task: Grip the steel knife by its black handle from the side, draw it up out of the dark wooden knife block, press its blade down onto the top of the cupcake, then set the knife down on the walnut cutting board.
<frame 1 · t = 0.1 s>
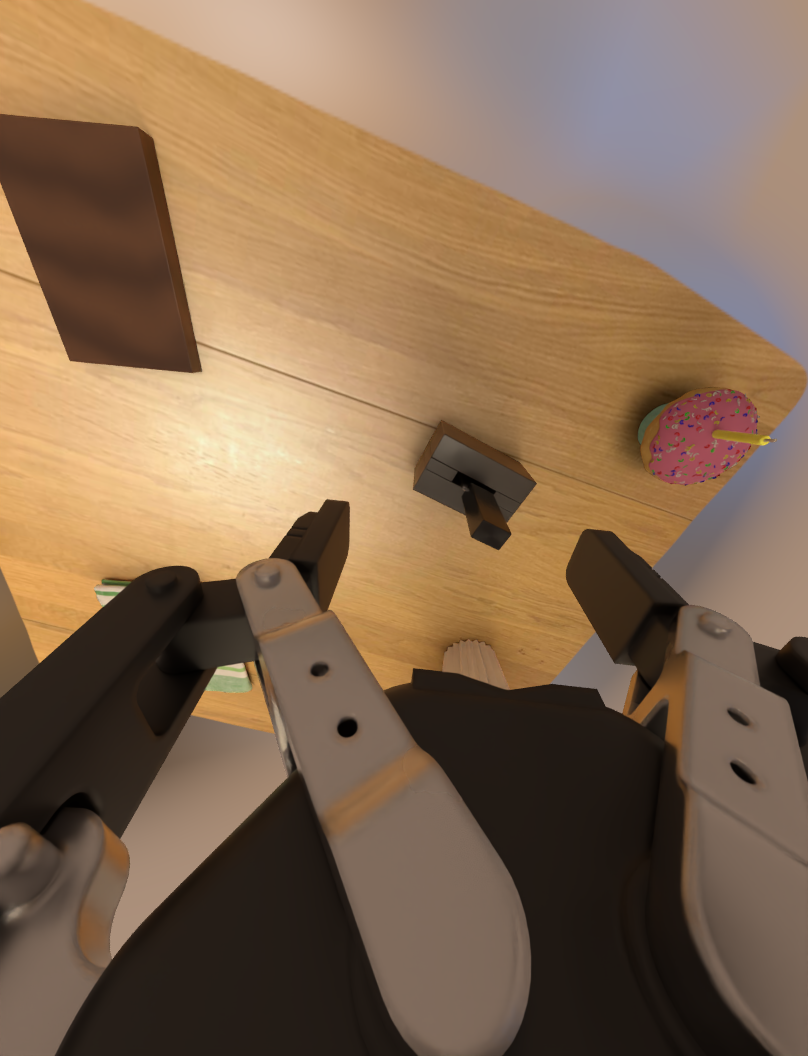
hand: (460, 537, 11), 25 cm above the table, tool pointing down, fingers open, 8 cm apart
knife block: (466, 465, 36), on the table
dish towel: (186, 634, 53), on the table
knife: (476, 493, 29), in the knife block
vase: (469, 655, 51), on the table
cupcake: (663, 426, 33), on the table
cutting board: (113, 265, 28), on the table
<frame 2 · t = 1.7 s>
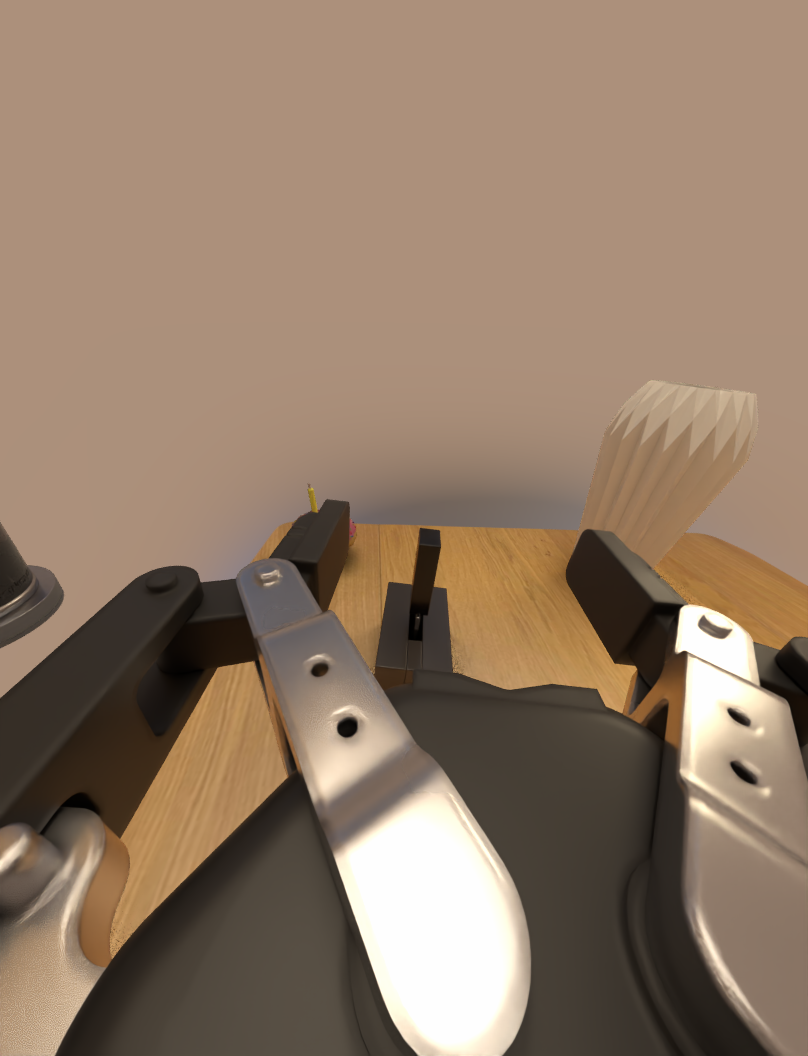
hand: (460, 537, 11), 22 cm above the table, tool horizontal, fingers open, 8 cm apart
knife block: (409, 664, 32), on the table
knife: (418, 609, 28), in the knife block
vase: (596, 583, 47), on the table
cupcake: (324, 559, 45), on the table
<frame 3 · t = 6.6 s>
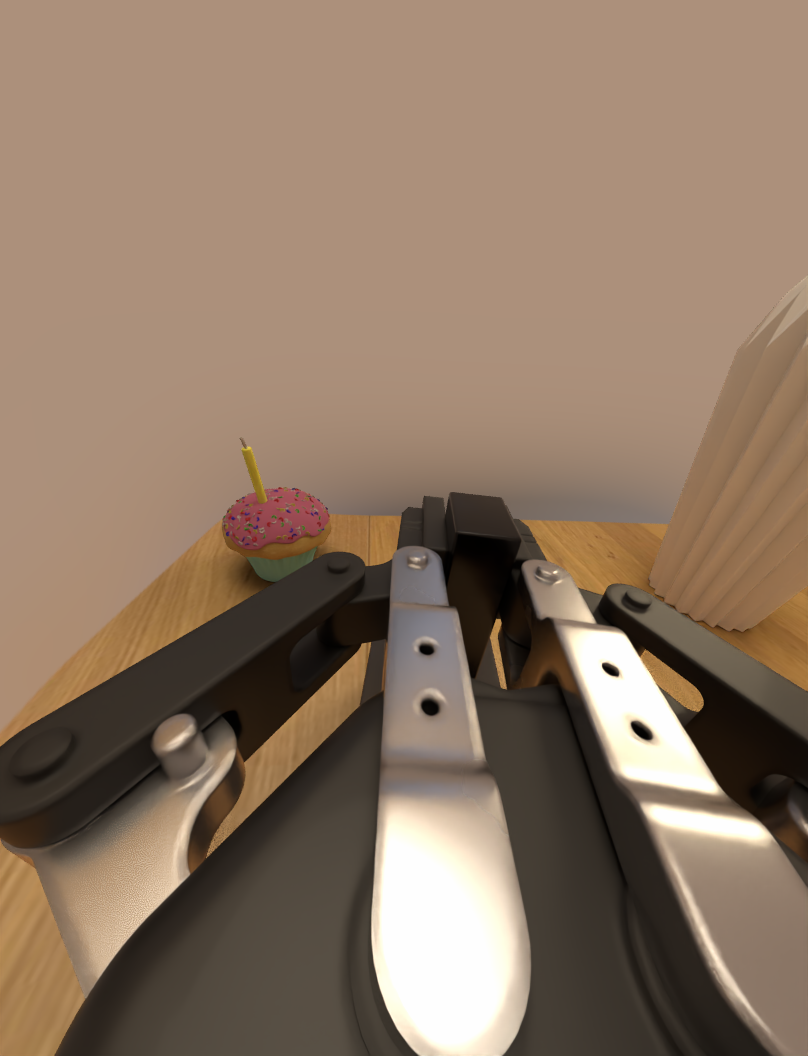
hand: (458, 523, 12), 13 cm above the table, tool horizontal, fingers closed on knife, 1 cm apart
knife block: (417, 777, 16), on the table
knife: (439, 685, 12), in the knife block, touching gripper
vase: (695, 600, 31), on the table
cupcake: (284, 566, 30), on the table
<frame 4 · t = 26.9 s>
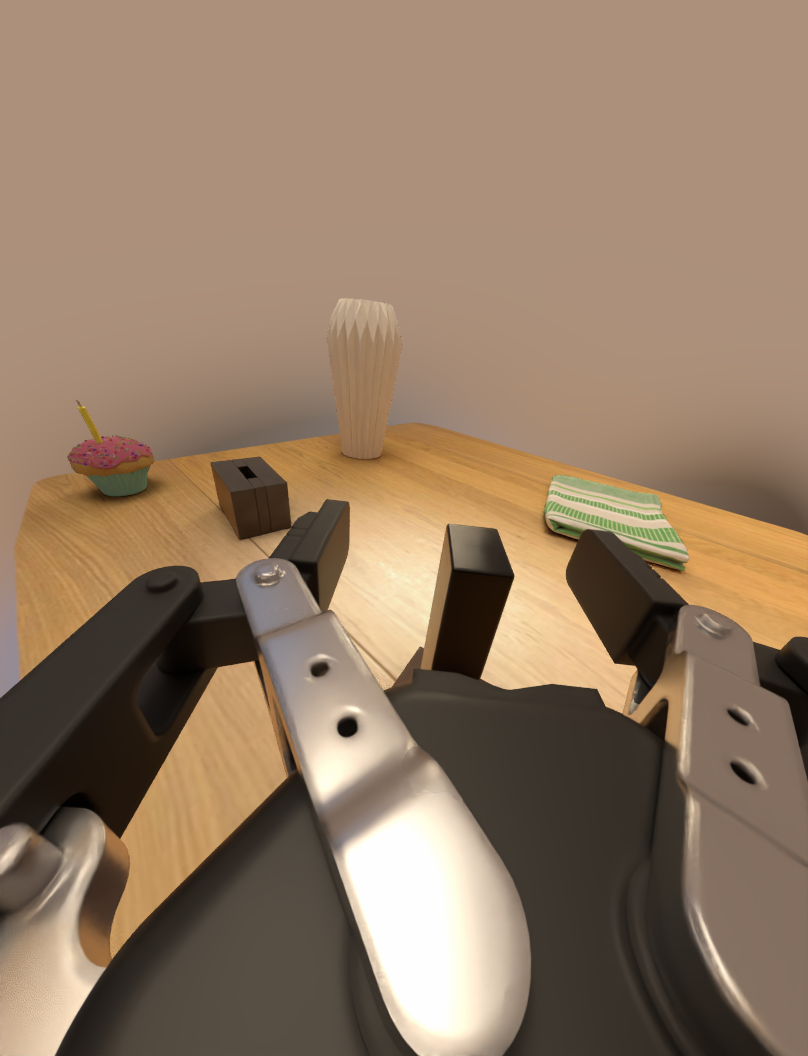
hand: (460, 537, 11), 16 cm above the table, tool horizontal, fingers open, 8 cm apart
knife block: (254, 515, 42), on the table
dish towel: (602, 518, 51), on the table
knife: (438, 702, 13), on the cutting board, point 9 cm above the table
vase: (361, 454, 68), on the table
cupcake: (125, 490, 45), on the table
cutting board: (446, 825, 17), on the table
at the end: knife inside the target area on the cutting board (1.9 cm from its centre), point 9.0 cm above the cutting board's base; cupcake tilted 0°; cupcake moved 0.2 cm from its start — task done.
